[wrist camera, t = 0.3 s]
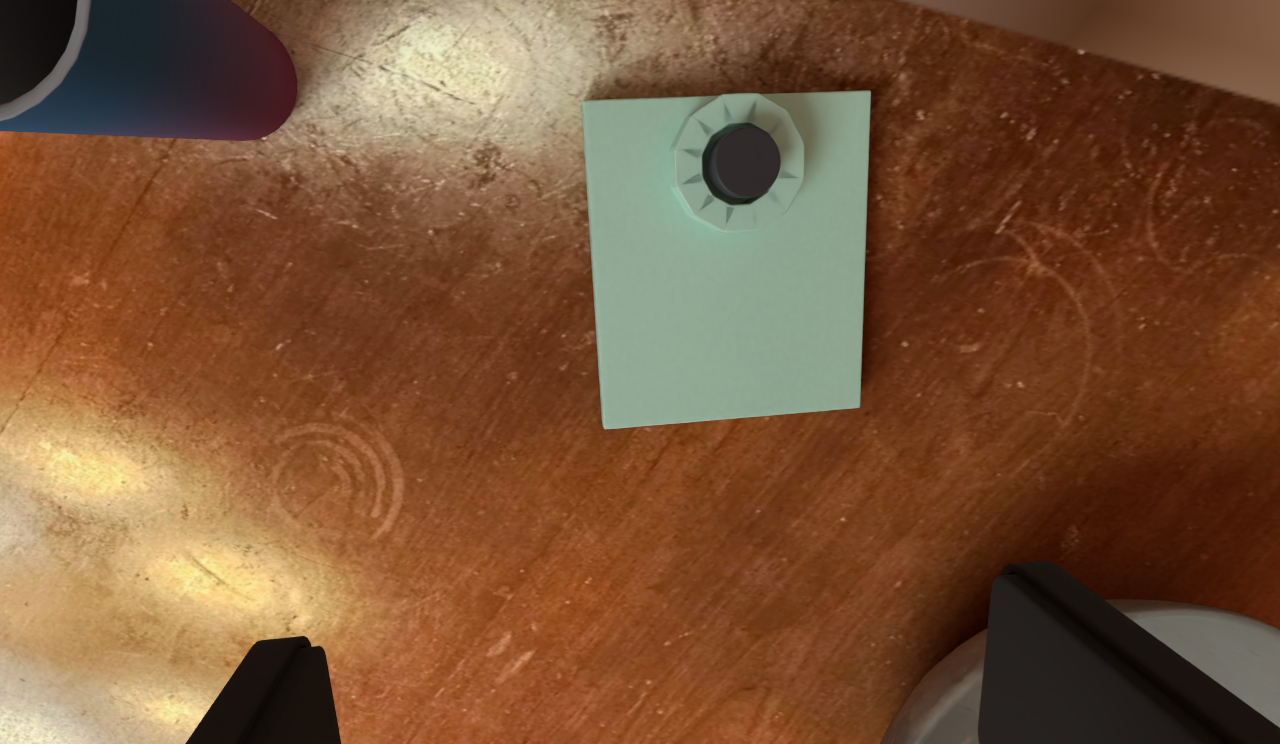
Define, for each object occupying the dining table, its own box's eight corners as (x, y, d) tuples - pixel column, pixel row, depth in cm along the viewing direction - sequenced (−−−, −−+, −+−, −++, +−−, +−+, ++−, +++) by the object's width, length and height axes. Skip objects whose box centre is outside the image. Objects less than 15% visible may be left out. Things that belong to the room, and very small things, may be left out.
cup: (242, -46, 28) (-98, -312, 13) (353, 103, 30) (161, 14, 15) (109, 51, 28) (-366, -106, 14) (227, 193, 30) (-81, 189, 15)
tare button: (706, 131, 29) (714, 128, 28) (769, 129, 29) (781, 125, 28) (707, 199, 30) (715, 199, 28) (769, 196, 30) (781, 196, 29)
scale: (581, 104, 31) (583, 94, 28) (858, 94, 32) (888, 84, 29) (601, 420, 34) (606, 441, 32) (849, 400, 36) (875, 418, 33)
